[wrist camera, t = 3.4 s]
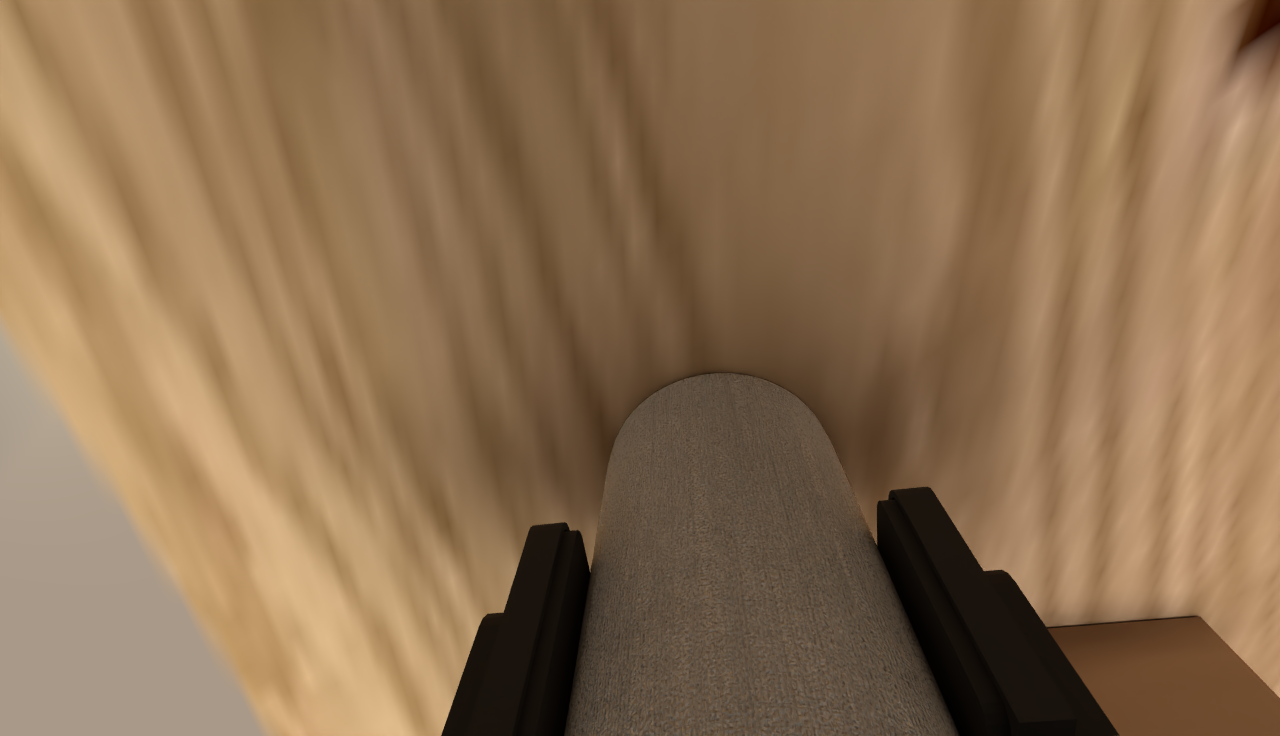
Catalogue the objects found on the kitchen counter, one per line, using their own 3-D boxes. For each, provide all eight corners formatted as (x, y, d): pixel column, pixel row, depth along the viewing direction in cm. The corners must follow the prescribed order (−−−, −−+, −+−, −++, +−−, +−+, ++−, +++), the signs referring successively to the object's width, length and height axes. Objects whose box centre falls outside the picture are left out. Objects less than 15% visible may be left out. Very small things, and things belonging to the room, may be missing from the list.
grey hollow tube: (594, 378, 13) (383, 1230, 3) (833, 360, 12) (1349, 1257, 3) (622, 564, 15) (533, 1457, 5) (831, 553, 14) (1147, 1491, 5)
